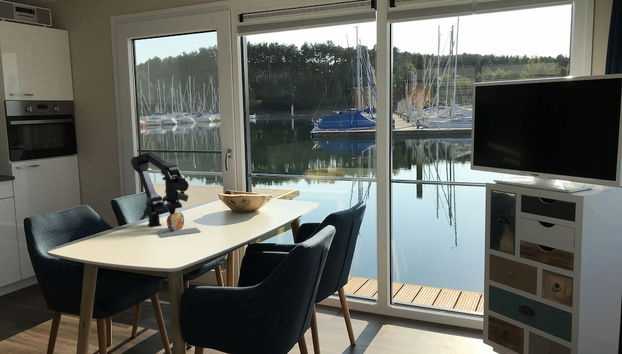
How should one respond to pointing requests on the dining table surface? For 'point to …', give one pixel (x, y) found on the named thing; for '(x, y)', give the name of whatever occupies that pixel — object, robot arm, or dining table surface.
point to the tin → (175, 221)
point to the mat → (178, 232)
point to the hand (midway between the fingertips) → (172, 217)
